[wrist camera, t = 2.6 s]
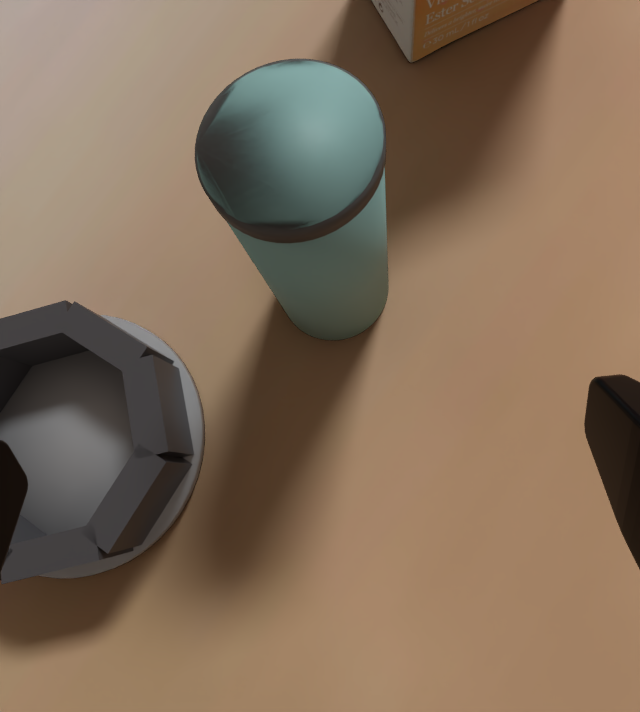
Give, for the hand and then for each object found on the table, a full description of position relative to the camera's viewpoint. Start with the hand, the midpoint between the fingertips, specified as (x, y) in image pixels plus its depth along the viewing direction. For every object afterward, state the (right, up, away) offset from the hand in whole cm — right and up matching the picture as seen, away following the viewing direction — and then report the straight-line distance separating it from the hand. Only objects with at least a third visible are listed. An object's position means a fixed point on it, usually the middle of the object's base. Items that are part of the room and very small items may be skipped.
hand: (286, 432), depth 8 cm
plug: (+1, +4, +14) cm, 15 cm away
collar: (-9, -2, +14) cm, 17 cm away
